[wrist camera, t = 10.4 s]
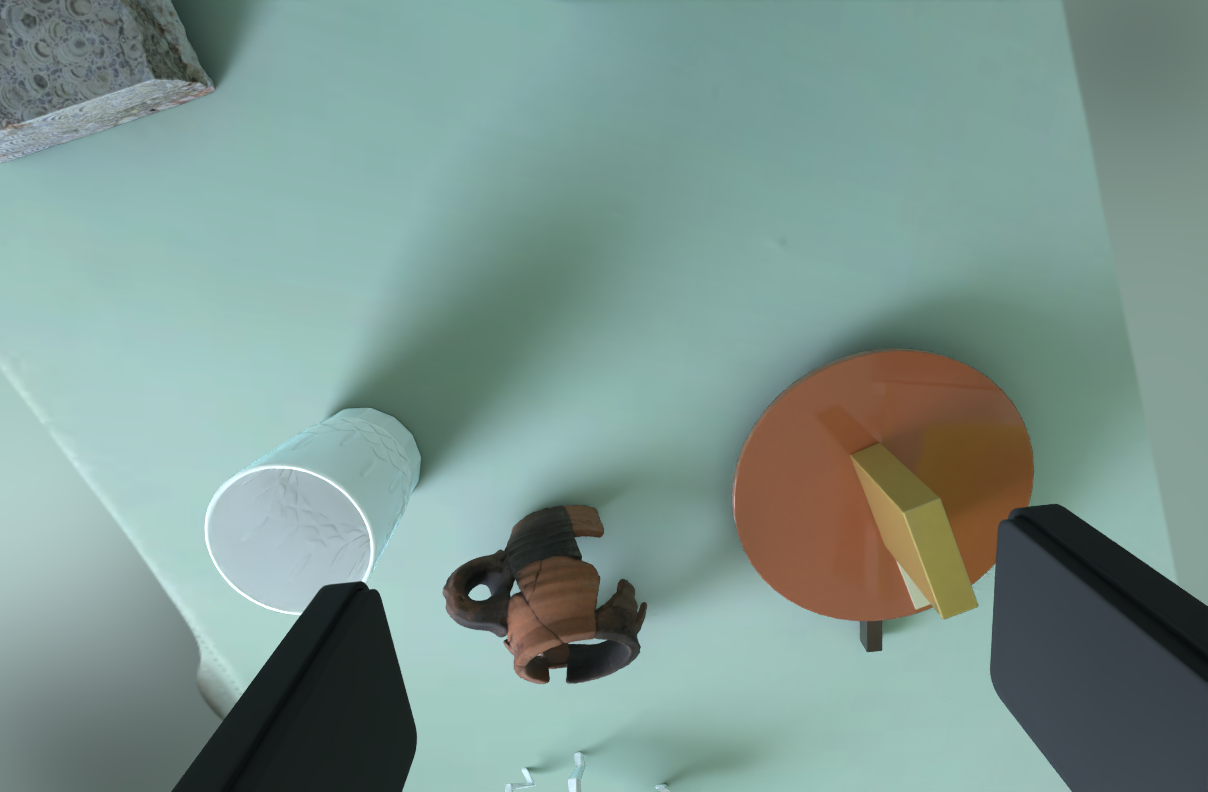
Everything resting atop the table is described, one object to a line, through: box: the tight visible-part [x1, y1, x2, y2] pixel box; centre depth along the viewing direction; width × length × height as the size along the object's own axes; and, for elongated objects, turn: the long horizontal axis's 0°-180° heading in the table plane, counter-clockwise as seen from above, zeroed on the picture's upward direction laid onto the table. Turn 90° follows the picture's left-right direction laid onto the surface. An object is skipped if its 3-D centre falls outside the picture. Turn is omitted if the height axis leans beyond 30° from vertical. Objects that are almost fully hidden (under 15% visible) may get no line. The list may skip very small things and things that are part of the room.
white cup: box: [205, 408, 421, 615], centre depth 35 cm, size 8×8×10 cm
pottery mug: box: [443, 505, 647, 684], centre depth 40 cm, size 12×10×8 cm
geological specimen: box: [0, 0, 216, 162], centre depth 30 cm, size 11×6×15 cm
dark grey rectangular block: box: [860, 620, 882, 652], centre depth 40 cm, size 17×10×2 cm, turn 7°
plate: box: [732, 348, 1034, 621], centre depth 34 cm, size 17×17×8 cm
